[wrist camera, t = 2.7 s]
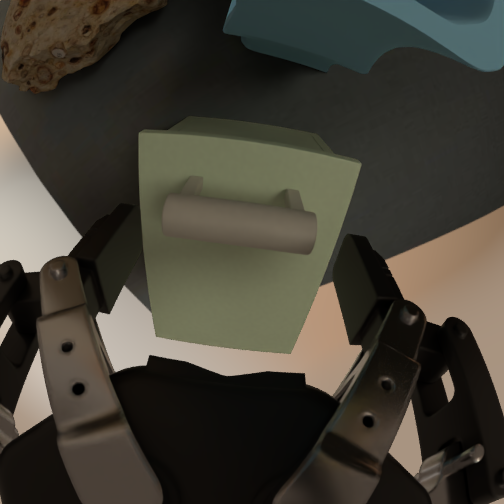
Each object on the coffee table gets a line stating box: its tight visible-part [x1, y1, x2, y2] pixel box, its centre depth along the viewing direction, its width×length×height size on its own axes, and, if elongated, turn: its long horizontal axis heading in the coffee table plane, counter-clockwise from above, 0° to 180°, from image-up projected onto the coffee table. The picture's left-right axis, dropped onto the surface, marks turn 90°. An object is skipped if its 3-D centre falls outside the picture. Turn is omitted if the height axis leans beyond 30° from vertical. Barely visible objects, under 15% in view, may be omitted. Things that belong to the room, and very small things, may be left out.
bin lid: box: [139, 130, 361, 354], centre depth 16 cm, size 17×12×5 cm
